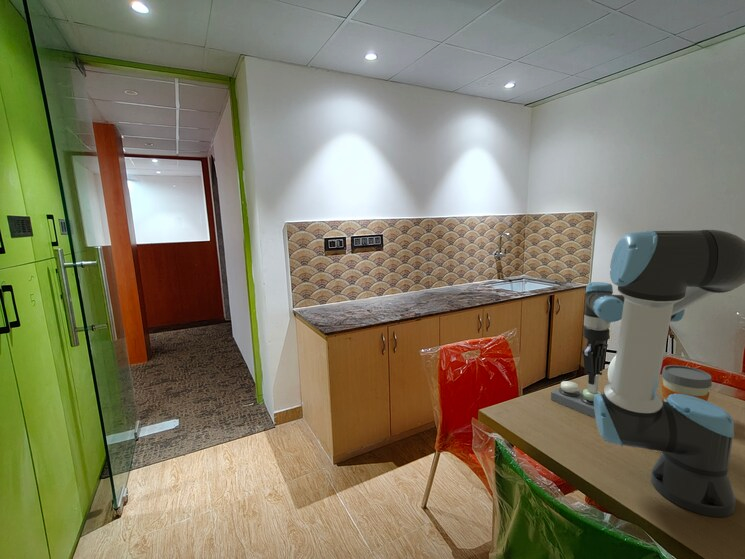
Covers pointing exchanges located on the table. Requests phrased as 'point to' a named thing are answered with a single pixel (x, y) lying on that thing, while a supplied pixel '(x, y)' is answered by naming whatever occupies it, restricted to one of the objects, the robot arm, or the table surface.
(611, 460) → the table surface
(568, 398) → the button panel
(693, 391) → the reusable coffee cup
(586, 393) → the sage button
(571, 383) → the cream button
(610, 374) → the sauce bottle
